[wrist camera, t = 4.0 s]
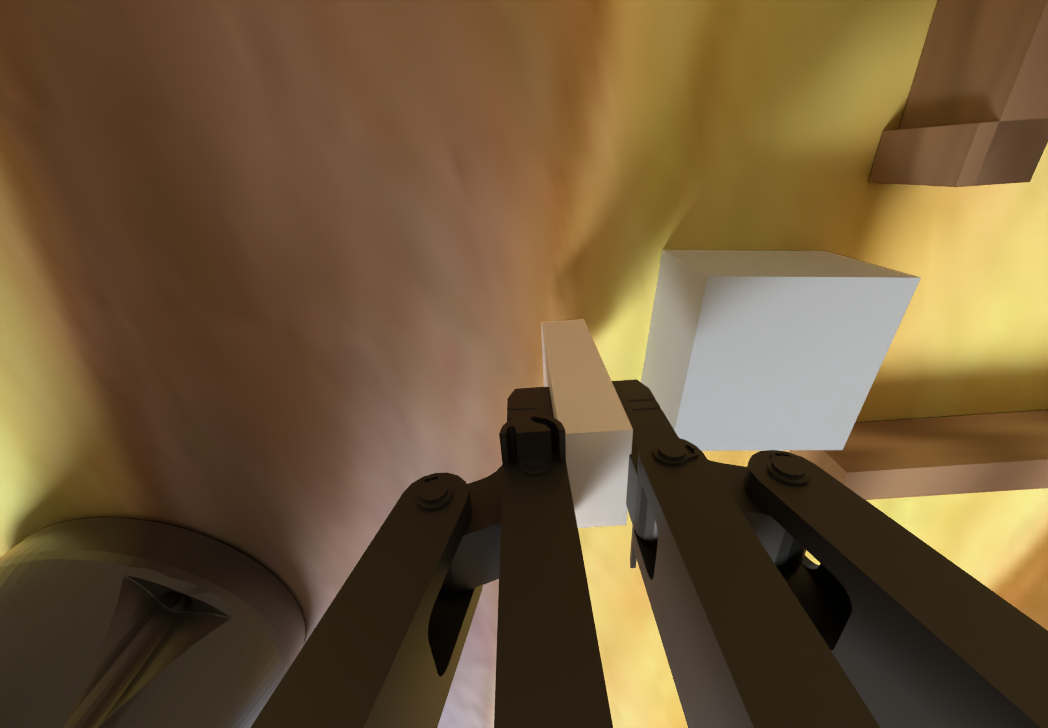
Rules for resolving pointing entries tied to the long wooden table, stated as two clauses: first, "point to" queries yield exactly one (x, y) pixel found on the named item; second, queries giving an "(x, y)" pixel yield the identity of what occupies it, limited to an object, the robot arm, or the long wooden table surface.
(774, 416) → the grey square block
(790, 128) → the long wooden table surface
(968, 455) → the open corridor walls
